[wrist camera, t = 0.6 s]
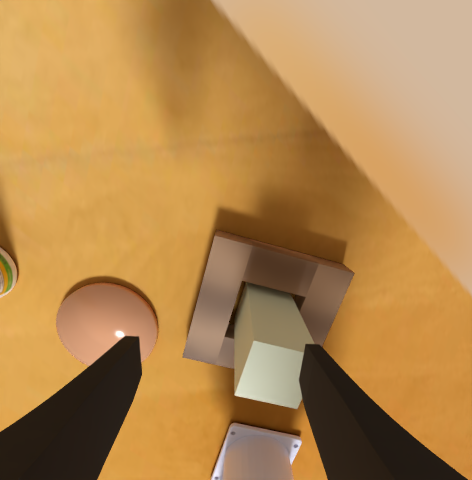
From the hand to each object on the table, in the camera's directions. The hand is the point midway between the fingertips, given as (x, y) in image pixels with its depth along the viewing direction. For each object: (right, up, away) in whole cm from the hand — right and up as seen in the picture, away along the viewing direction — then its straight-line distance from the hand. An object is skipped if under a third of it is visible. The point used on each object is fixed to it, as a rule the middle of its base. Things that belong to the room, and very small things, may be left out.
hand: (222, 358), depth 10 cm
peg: (+3, -1, +11) cm, 12 cm away
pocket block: (+3, -1, +11) cm, 12 cm away
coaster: (-11, -3, +12) cm, 16 cm away
